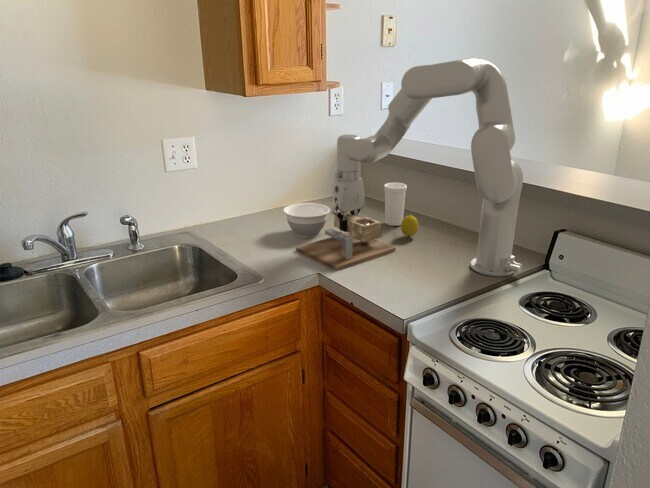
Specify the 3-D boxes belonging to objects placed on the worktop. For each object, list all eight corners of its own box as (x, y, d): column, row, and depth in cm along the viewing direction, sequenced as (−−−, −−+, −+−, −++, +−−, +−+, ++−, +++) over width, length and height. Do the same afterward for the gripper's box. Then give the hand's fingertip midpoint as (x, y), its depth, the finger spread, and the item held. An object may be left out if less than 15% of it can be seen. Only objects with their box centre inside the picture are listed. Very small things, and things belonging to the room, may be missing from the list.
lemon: (416, 234, 182) (418, 212, 179) (417, 240, 177) (419, 217, 174) (400, 234, 183) (401, 211, 180) (400, 240, 177) (402, 217, 174)
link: (380, 237, 169) (381, 222, 167) (364, 242, 165) (364, 226, 163) (345, 223, 181) (345, 209, 180) (329, 227, 177) (329, 213, 175)
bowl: (278, 228, 189) (277, 205, 186) (321, 223, 194) (321, 200, 190) (291, 243, 175) (290, 218, 172) (336, 238, 179) (337, 213, 176)
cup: (402, 220, 197) (404, 182, 191) (407, 227, 189) (409, 188, 184) (380, 220, 196) (382, 182, 191) (384, 227, 189) (385, 188, 184)
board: (395, 251, 168) (395, 247, 168) (336, 270, 154) (336, 266, 154) (353, 234, 183) (353, 230, 182) (296, 250, 169) (296, 247, 168)
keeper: (352, 258, 160) (352, 237, 157) (346, 260, 158) (346, 239, 156) (331, 248, 167) (331, 228, 165) (325, 250, 166) (325, 230, 163)
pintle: (371, 244, 170) (372, 223, 168) (365, 246, 168) (365, 225, 166) (365, 242, 172) (366, 221, 170) (359, 244, 170) (359, 223, 168)
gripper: (336, 181, 161) (335, 238, 168) (375, 173, 171) (373, 227, 178) (320, 176, 167) (320, 231, 174) (359, 168, 176) (358, 221, 183)
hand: (347, 229), depth 176 cm, fingers closed on link, 3 cm apart
